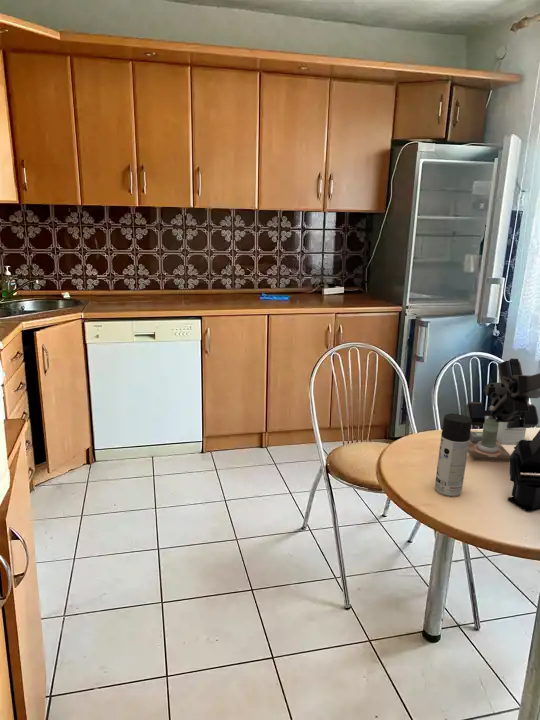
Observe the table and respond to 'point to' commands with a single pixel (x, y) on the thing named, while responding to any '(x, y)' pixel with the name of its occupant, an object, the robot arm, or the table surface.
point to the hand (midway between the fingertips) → (491, 426)
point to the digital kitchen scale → (481, 456)
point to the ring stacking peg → (489, 437)
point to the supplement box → (510, 434)
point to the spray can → (453, 454)
